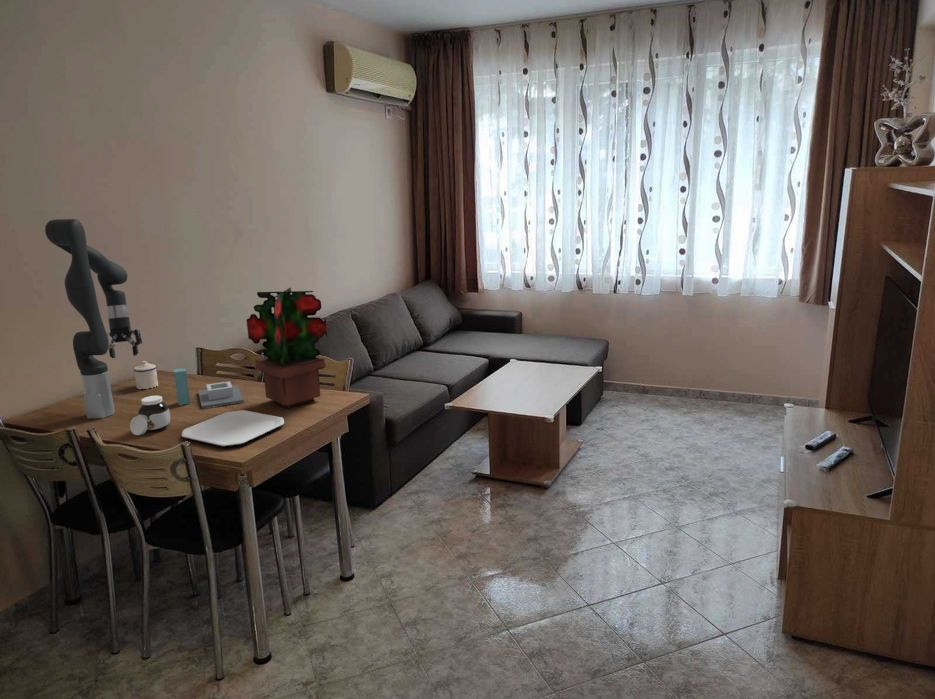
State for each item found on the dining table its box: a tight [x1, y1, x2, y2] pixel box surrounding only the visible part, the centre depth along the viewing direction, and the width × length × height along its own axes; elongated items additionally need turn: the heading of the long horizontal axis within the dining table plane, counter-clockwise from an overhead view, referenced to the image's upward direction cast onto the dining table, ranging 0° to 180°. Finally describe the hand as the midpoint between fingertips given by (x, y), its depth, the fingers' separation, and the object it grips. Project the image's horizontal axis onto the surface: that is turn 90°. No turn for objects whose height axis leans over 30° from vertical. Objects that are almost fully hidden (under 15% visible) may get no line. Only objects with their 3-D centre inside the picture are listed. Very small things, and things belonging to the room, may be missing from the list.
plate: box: [180, 409, 285, 448], centre depth 240 cm, size 29×29×2 cm
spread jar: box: [129, 395, 171, 436], centre depth 241 cm, size 12×11×12 cm
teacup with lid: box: [133, 360, 159, 390], centre depth 294 cm, size 12×9×12 cm
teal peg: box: [173, 367, 191, 406], centre depth 270 cm, size 4×4×14 cm
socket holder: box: [197, 380, 245, 409], centre depth 277 cm, size 22×16×5 cm
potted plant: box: [246, 287, 328, 408], centre depth 265 cm, size 22×22×45 cm
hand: (124, 356), depth 270 cm, fingers open, 8 cm apart
